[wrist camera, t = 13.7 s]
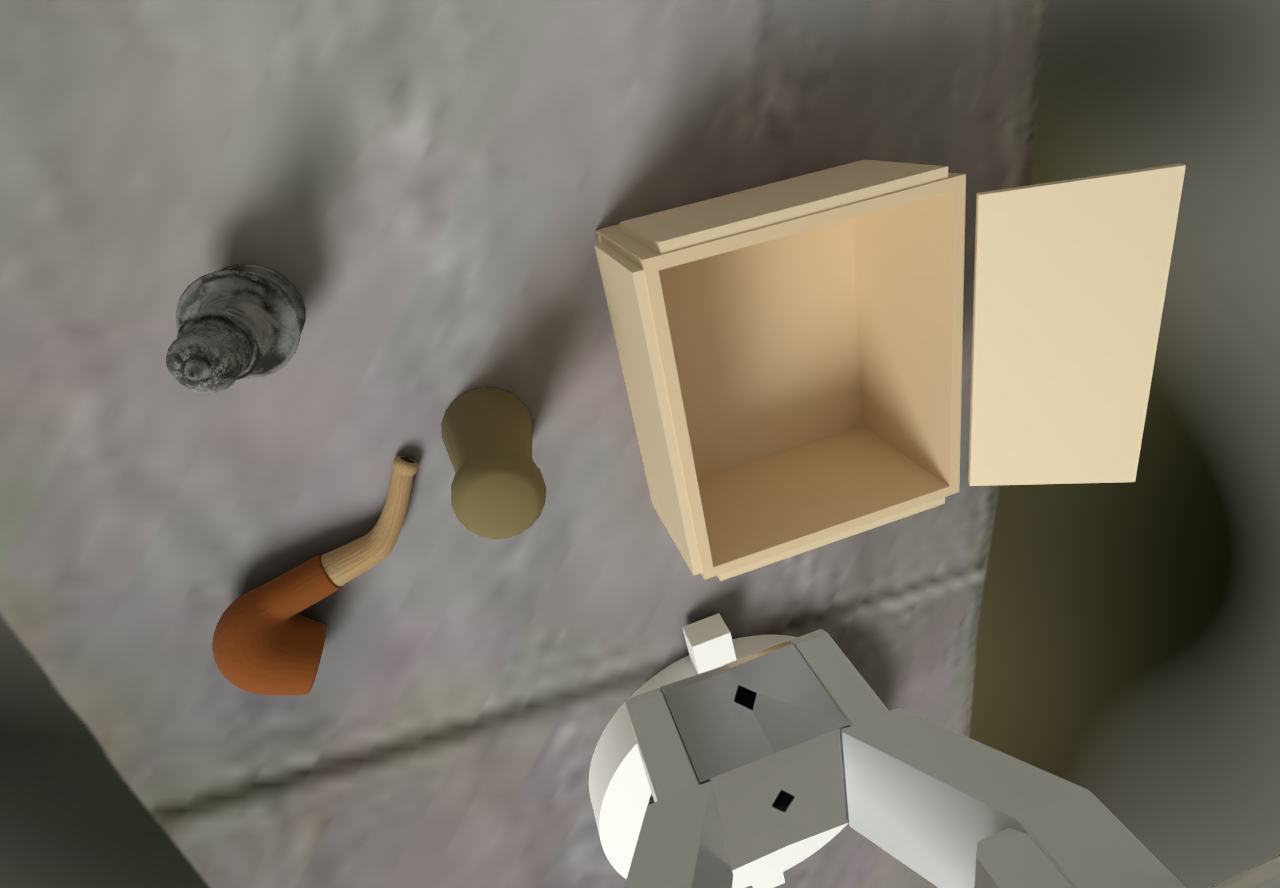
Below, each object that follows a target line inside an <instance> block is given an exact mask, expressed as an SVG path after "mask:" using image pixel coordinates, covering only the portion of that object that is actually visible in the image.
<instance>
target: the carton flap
mask: <svg viewBox="0 0 1280 888" xmlns="http://www.w3.org/2000/svg"><path fill="white" fill-rule="evenodd" d="M1185 167H1186V166H1185V165H1184V164H1181V163H1179V164H1173V165H1166V166H1159V167H1152V168H1145V169H1138V170H1131V171H1124V172H1117V173H1111V174H1104V175H1097V176H1090V177H1083V178H1076V179H1069V180H1063V181H1056V182H1049V183H1042V184H1035V185H1028V186H1021V187H1014V188H1007V189H1000V190H994V191H987V192H980V193H977V199H976V234H975V268H974V303H973V338H972V373H971V407H970V442H969V477H968V481H969V485H970V486H986V485H1025V484H1069V483H1106V482H1107V483H1111V482H1135V479H1136V473H1137V466H1138V460H1139V454H1140V448H1141V441H1142V435H1143V429H1144V422H1145V417H1146V410H1147V404H1148V398H1149V392H1150V385H1151V379H1152V373H1153V366H1154V360H1155V354H1156V348H1157V342H1158V336H1159V329H1160V322H1161V316H1162V310H1163V304H1164V298H1165V291H1166V286H1167V279H1168V273H1169V267H1170V260H1171V254H1172V248H1173V242H1174V236H1175V229H1176V223H1177V216H1178V210H1179V204H1180V198H1181V192H1182V186H1183V180H1184V173H1185Z"/></svg>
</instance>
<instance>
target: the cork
mask: <svg viewBox="0 0 1280 888" xmlns="http://www.w3.org/2000/svg"><path fill="white" fill-rule="evenodd" d="M441 426H442V439H443V441H444V444H445V447H446V449H447V452H448V454H449V457H450V460H451V462H452V465H453V467H454V470H455V473H456V474H455V477H454V480H453V483H452V485H451V500H452V506H453V509H454V511H455V514H456V516H457V518H458V519H459V521H460V522H461V523H462V524H463V525H464V526H465V527H466V528H467V529H468V530H469V531H471V532H473V533H475V534H476V535H478V536H481V537H486V538H491V539H504V538H509V537H512V536H515V535H518V534H520V533H522V532H523V531H525V530H526V529H528V528H529V527H531V526H532V525H533V523H534V522H535V521H536V520H537V519H538V518H539V516H540V514H541V512H542V509H543V507H544V504H545V497H546V486H545V483H544V480H543V477H542V474H541V471H540V469H539V468H538V467H537V466H536V464H535V463H534V462H533V461H532V421H531V417H530V414H529V411H528V409H527V408H526V407H525V405H524V404H523V403H522V401H521V400H520V399H519V398H517V397H516V396H514V395H513V394H511V393H510V392H508V391H504V390H501V389H498V388H478V389H474V390H471V391H468V392H465V393H464V394H462V395H461V396H459V397H458V398H456V399H455V400H454V401H453V402H452V404H451V405H450V406H449V407H448V409H447V410H446V412H445V415H444V418H443V421H442V423H441Z"/></svg>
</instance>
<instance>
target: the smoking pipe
mask: <svg viewBox="0 0 1280 888" xmlns="http://www.w3.org/2000/svg"><path fill="white" fill-rule="evenodd" d="M401 458H405V457H404V456H398V457H396V458H395V459H394V461H393V467H392V475H391V480H390V485H389V490H388V495H387V498H386V502H385V505H384V508H383V511H382V513H381V515H380V517H379V520H378V521H377V523H376V525H375V526H374V527H373V529H372V530H371V531H370V532H369V533H368V534H366V535H364V536H362V537H360V538H358V539H356V540H354V541H352V542H350V543H348V544H346V545H344V546H341V547H339V548H337V549H335V550H332V551H330V552H328V553H326V554H323V555H322V554H319V555H317V556H315V557H313V558H311V559H310V560H308V561H306V562H304V563H302V564H300V565H298V566H297V567H295V568H293V569H291V570H289V571H287V572H286V573H284V574H282V575H280V576H278V577H276V578H275V579H273V580H271V581H269V582H267V583H265V584H264V585H262V586H260V587H258V588H255V589H253V590H251V591H249V592H247V593H246V594H244V595H242V596H240V597H239V598H238V599H236V600H235V601H234V602H233V603H232V604H230V606H229V607H228V608H227V609H226V610H225V612H224V613H223V614H222V616H221V618H220V620H219V622H218V624H217V626H216V629H215V632H214V636H213V644H212V650H213V654H214V659H215V662H216V664H217V666H218V668H219V670H220V671H221V673H222V674H223V675H224V677H225V678H227V679H228V680H229V681H230V682H231V683H232V684H234V685H235V686H237V687H238V688H240V689H243V690H245V691H248V692H252V693H256V694H264V695H304V694H308V693H309V692H310V690H311V688H312V686H313V683H314V680H315V677H316V674H317V670H318V667H319V663H320V659H321V655H322V650H323V646H324V641H325V635H326V625H325V624H324V623H321V622H318V621H314V620H311V619H309V618H307V617H304V616H302V615H299V614H297V613H299V612H301V611H303V610H304V609H306V608H308V607H310V606H311V605H313V604H315V603H317V602H318V601H320V600H322V599H324V598H325V597H327V596H329V595H330V594H332V593H334V592H336V591H337V590H339V589H340V588H341V586H342V585H344V584H345V583H347V582H349V581H350V580H352V579H354V578H355V577H357V576H359V575H360V574H362V573H364V572H365V571H367V570H368V569H370V568H372V567H373V566H375V565H376V564H378V563H379V562H381V561H382V560H383V559H384V558H385V557H387V556H388V554H389V553H390V552H391V551H392V549H393V547H394V545H395V543H396V541H397V539H398V536H399V534H400V531H401V528H402V525H403V521H404V518H405V515H406V511H407V507H408V503H409V499H410V494H411V489H412V483H413V476H414V474H415V473H416V472H417V471H418V464H417V462H416V461H415V460H413V459H411V458H409V459H410V460H411V461H412V463H410V462H406V461H404V460H402V459H401Z"/></svg>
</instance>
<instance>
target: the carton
mask: <svg viewBox="0 0 1280 888" xmlns="http://www.w3.org/2000/svg"><path fill="white" fill-rule="evenodd" d="M965 198H966V174H960V173H949V172H948V166H938V165H926V164H913V163H900V162H888V161H875V160H860V161H857V162H853V163H849V164H845V165H841V166H837V167H833V168H829V169H825V170H821V171H817V172H814V173H810V174H806V175H802V176H798V177H794V178H790V179H786V180H782V181H778V182H774V183H771V184H767V185H763V186H759V187H755V188H751V189H747V190H743V191H739V192H735V193H731V194H728V195H724V196H720V197H716V198H712V199H708V200H704V201H700V202H696V203H692V204H688V205H684V206H681V207H677V208H673V209H669V210H665V211H661V212H657V213H653V214H649V215H645V216H641V217H638V218H634V219H630V220H626V221H622V222H620V224H617V225H613V226H609V227H605V228H601V229H597V230H596V235H597V239H598V244H596V245H594V246H595V250H596V255H597V259H598V264H599V268H600V273H601V277H602V282H603V286H604V290H605V295H606V299H607V304H608V308H609V313H610V317H611V322H612V326H613V330H614V335H615V339H616V344H617V348H618V353H619V357H620V362H621V366H622V371H623V375H624V379H625V384H626V388H627V393H628V397H629V402H630V406H631V411H632V415H633V419H634V424H635V428H636V433H637V437H638V442H639V446H640V451H641V455H642V460H643V464H644V468H645V473H646V477H647V482H648V486H649V491H650V495H651V500H652V504H653V506H654V508H655V510H656V512H657V513H658V515H659V517H660V519H661V520H662V522H663V524H664V525H665V527H666V529H667V531H668V532H669V534H670V536H671V537H672V539H673V541H674V543H675V544H676V546H677V548H678V549H679V551H680V553H681V555H682V556H683V558H684V560H685V562H686V563H687V565H688V567H689V568H690V570H691V572H692V574H693V575H697V574H700V573H701V575H702V576H703V578H704V580H705V579H708V578H711V577H714V576H717V577H718V578H719V580H720V581H722V580H725V579H728V578H731V577H734V576H737V575H740V574H743V573H745V572H748V571H751V570H754V569H757V568H760V567H763V566H766V565H769V564H771V563H774V562H777V561H780V560H783V559H786V558H789V557H792V556H795V555H797V554H800V553H803V552H806V551H809V550H812V549H815V548H818V547H821V546H823V545H826V544H829V543H832V542H835V541H838V540H841V539H844V538H847V537H849V536H852V535H855V534H858V533H861V532H864V531H867V530H870V529H873V528H875V527H878V526H881V525H884V524H887V523H890V522H893V521H896V520H899V519H901V518H904V517H907V516H910V515H913V514H916V513H919V512H922V511H925V510H927V509H930V508H933V507H936V506H939V505H942V504H945V497H946V496H949V495H952V494H955V493H958V492H959V476H960V429H961V383H962V337H963V291H964V245H965Z"/></svg>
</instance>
